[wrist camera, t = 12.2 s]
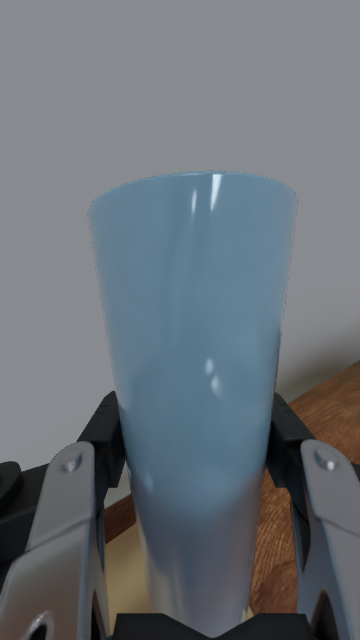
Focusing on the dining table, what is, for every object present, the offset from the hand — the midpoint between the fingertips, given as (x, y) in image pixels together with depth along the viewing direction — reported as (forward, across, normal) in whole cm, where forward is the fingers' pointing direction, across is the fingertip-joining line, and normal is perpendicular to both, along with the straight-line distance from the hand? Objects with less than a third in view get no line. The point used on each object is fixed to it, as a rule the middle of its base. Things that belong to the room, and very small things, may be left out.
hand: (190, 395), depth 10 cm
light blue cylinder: (-2, 0, +11) cm, 11 cm away
